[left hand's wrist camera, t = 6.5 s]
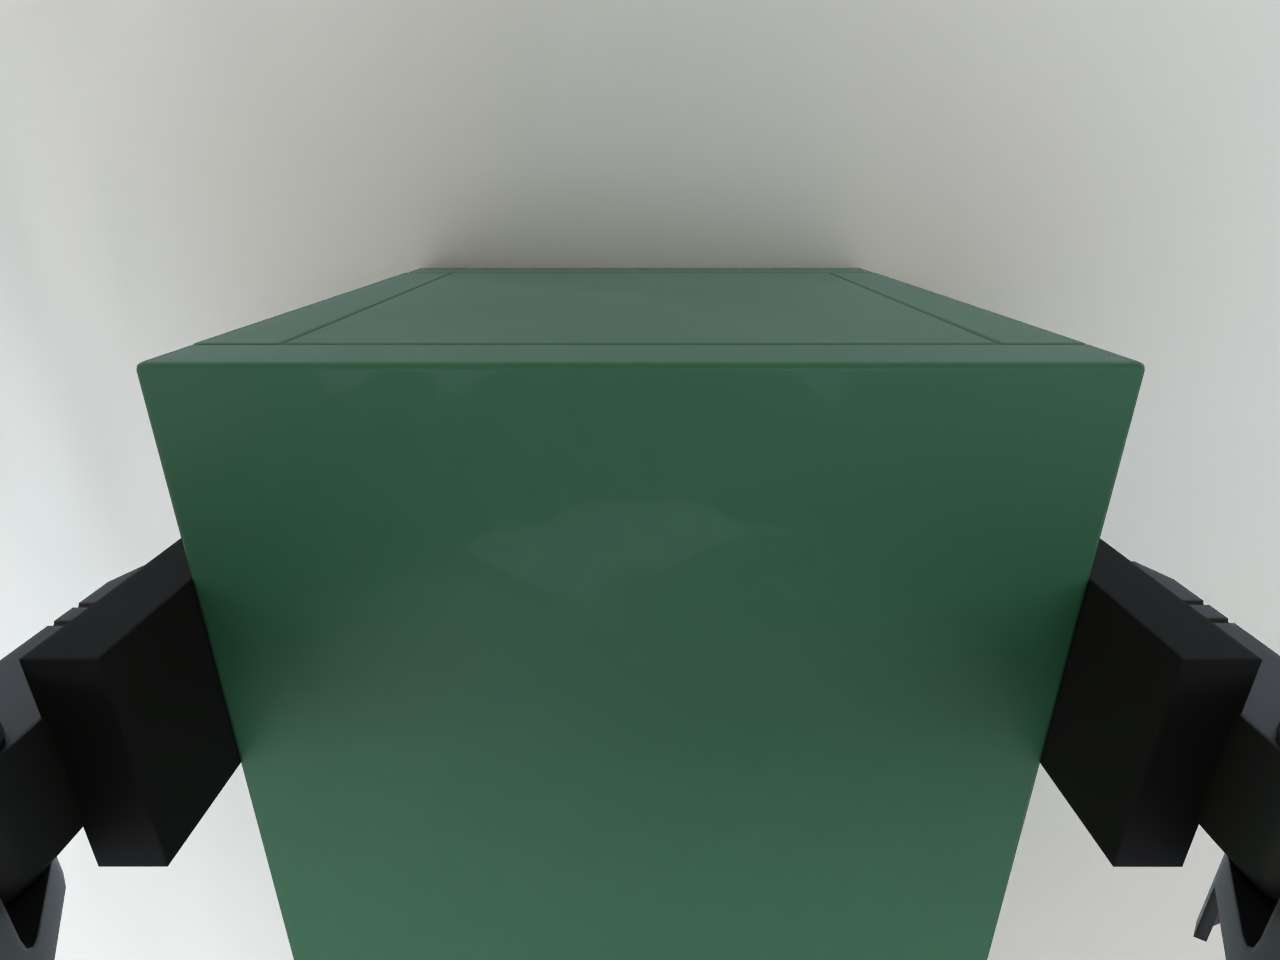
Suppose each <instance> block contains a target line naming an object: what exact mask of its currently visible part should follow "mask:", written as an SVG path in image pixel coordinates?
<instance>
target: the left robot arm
mask: <svg viewBox="0 0 1280 960" xmlns="http://www.w3.org/2000/svg"><path fill="white" fill-rule="evenodd" d="M240 763H241V759H240V755H239V752H238V748H237V744H236V740H235V737H234V733H233V729H232V725H231V722H230V718H229V714H228V710H227V707H226V703H225V699H224V695H223V692H222V688H221V684H220V680H219V677H218V673H217V669H216V666H215V662H214V658H213V654H212V651H211V647H210V643H209V639H208V636H207V632H206V628H205V624H204V621H203V617H202V613H201V609H200V606H199V602H198V598H197V594H196V591H195V587H194V583H193V579H192V576H191V572H190V568H189V564H188V561H187V557H186V553H185V549H184V546H183V542H182V538H181V539H179V540H178V541H177V542H175V543H174V544H173V545H171V546H170V547H169V548H167V549H166V550H165V551H163V552H162V553H161V554H159V555H158V556H157V557H155V558H154V559H153V560H151V561H150V562H149V563H147V564H146V565H144V566H142V567H140V568H138V569H135V570H133V571H131V572H129V573H127V574H125V575H122V576H120V577H118V578H116V579H114V580H111V581H109V582H107V583H106V584H105V585H103V586H102V587H101V588H99V589H98V590H96V591H95V592H94V593H92V594H91V595H90V596H88V597H87V598H85V599H84V600H83V601H81V602H80V603H79V607H78V608H72V609H70V610H69V611H68V612H66V613H65V614H63V615H62V616H61V617H59V618H58V619H57V620H55V621H54V626H47V627H46V628H44V629H43V630H41V631H40V632H39V633H37V634H36V635H35V636H33V637H32V638H30V639H29V640H28V641H26V642H25V643H24V644H22V645H21V646H19V647H18V648H17V649H15V650H14V651H13V652H11V653H10V654H8V655H7V656H6V657H4V658H3V659H2V660H0V960H54V959H55V952H56V946H57V940H58V933H59V927H60V921H61V914H62V908H63V902H64V895H65V889H66V885H65V880H64V875H63V871H62V868H61V866H60V864H59V861H58V859H57V855H58V854H59V853H60V852H61V851H62V850H63V849H64V848H65V846H66V845H67V844H68V843H69V842H70V841H71V840H72V838H73V837H74V836H75V835H76V834H77V833H78V832H79V831H80V829H81V828H82V827H84V830H85V832H86V835H87V837H88V840H89V843H90V845H91V848H92V850H93V853H94V855H95V858H96V861H97V863H98V866H168V865H169V864H170V862H171V861H172V859H173V858H174V857H175V855H176V854H177V852H178V851H179V849H180V848H181V847H182V845H183V844H184V842H185V841H186V840H187V838H188V837H189V835H190V834H191V832H192V831H193V830H194V828H195V827H196V825H197V824H198V822H199V821H200V820H201V818H202V817H203V815H204V814H205V813H206V811H207V810H208V808H209V807H210V805H211V804H212V803H213V801H214V800H215V798H216V797H217V796H218V794H219V793H220V791H221V790H222V788H223V787H224V786H225V784H226V783H227V781H228V780H229V778H230V777H231V776H232V774H233V773H234V771H235V770H236V769H237V767H238V766H239V764H240ZM1040 763H1041V765H1042V766H1043V767H1044V769H1045V770H1046V772H1047V773H1048V775H1049V776H1050V777H1051V779H1052V780H1053V782H1054V783H1055V784H1056V786H1057V787H1058V789H1059V790H1060V792H1061V793H1062V794H1063V796H1064V797H1065V799H1066V800H1067V802H1068V803H1069V804H1070V806H1071V807H1072V809H1073V810H1074V811H1075V813H1076V814H1077V816H1078V817H1079V819H1080V820H1081V821H1082V823H1083V824H1084V826H1085V827H1086V828H1087V830H1088V831H1089V833H1090V834H1091V836H1092V837H1093V838H1094V840H1095V841H1096V843H1097V844H1098V846H1099V847H1100V848H1101V850H1102V851H1103V853H1104V854H1105V855H1106V857H1107V858H1108V860H1109V861H1110V863H1111V864H1112V865H1113V867H1182V866H1183V863H1184V861H1185V858H1186V856H1187V853H1188V850H1189V848H1190V845H1191V843H1192V840H1193V837H1194V835H1195V832H1196V830H1197V827H1198V825H1199V824H1200V825H1201V827H1202V828H1203V829H1204V830H1205V831H1206V832H1207V833H1208V834H1209V836H1210V837H1211V838H1212V839H1213V840H1214V841H1215V842H1216V843H1217V845H1218V846H1219V847H1220V848H1221V849H1222V850H1223V851H1224V852H1225V854H1224V856H1223V859H1222V861H1221V864H1220V866H1219V868H1218V871H1217V873H1216V876H1215V878H1214V881H1213V883H1212V885H1211V888H1210V890H1209V893H1208V895H1207V897H1206V900H1205V902H1204V905H1203V907H1202V909H1201V912H1200V914H1199V917H1198V919H1197V922H1196V927H1195V932H1194V937H1196V938H1199V939H1201V940H1204V941H1207V939H1208V936H1209V934H1210V932H1211V929H1212V927H1213V926H1214V925H1216V924H1219V923H1220V924H1221V931H1222V937H1223V943H1224V949H1225V956H1226V960H1280V656H1279V655H1278V654H1276V653H1275V652H1274V651H1272V650H1271V649H1269V648H1268V647H1267V646H1265V645H1264V644H1263V643H1261V642H1260V641H1258V640H1257V639H1256V638H1254V637H1253V636H1251V635H1250V634H1249V633H1247V632H1246V631H1244V630H1243V629H1242V628H1240V627H1239V626H1238V625H1236V624H1235V623H1228V618H1226V617H1225V616H1224V615H1222V614H1221V613H1219V612H1218V611H1217V610H1215V609H1214V608H1213V607H1211V606H1210V605H1204V604H1203V600H1201V599H1200V598H1199V597H1197V596H1196V595H1195V594H1193V593H1192V592H1190V591H1189V590H1188V589H1186V588H1185V587H1183V586H1182V585H1181V584H1179V583H1178V582H1176V581H1175V580H1174V579H1171V578H1169V577H1167V576H1165V575H1163V574H1161V573H1158V572H1156V571H1154V570H1152V569H1150V568H1147V567H1145V566H1143V565H1141V564H1139V563H1136V562H1131V561H1130V560H1128V559H1127V558H1126V557H1124V556H1123V555H1121V554H1120V553H1119V552H1117V551H1116V550H1115V549H1113V548H1112V547H1111V546H1109V545H1108V544H1107V543H1105V542H1104V541H1103V540H1101V539H1099V543H1098V547H1097V550H1096V554H1095V558H1094V562H1093V565H1092V569H1091V573H1090V576H1089V580H1088V584H1087V588H1086V591H1085V595H1084V599H1083V603H1082V606H1081V610H1080V614H1079V618H1078V621H1077V625H1076V629H1075V633H1074V636H1073V640H1072V644H1071V648H1070V651H1069V655H1068V659H1067V663H1066V666H1065V670H1064V674H1063V677H1062V681H1061V685H1060V689H1059V692H1058V696H1057V700H1056V704H1055V707H1054V711H1053V715H1052V719H1051V722H1050V726H1049V730H1048V734H1047V737H1046V741H1045V745H1044V749H1043V752H1042V756H1041V760H1040Z"/></svg>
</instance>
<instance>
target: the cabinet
mask: <svg viewBox="0 0 1280 960" xmlns="http://www.w3.org/2000/svg"><path fill="white" fill-rule="evenodd" d="M1144 371H1145V369H1144V365H1143V364H1142V363H1140V362H1138V361H1135V360H1132V359H1129V358H1126V357H1123V356H1120V355H1117V354H1114V353H1111V352H1108V351H1105V350H1102V349H1099V348H1096V347H1093V346H1090V345H1086V344H1085V343H1082V342H1079V341H1076V340H1073V339H1071V338H1068V337H1065V336H1062V335H1059V334H1056V333H1053V332H1050V331H1047V330H1044V329H1041V328H1038V327H1035V326H1032V325H1029V324H1026V323H1023V322H1020V321H1017V320H1014V319H1011V318H1008V317H1005V316H1002V315H999V314H996V313H993V312H990V311H987V310H984V309H981V308H978V307H975V306H972V305H969V304H966V303H963V302H960V301H957V300H954V299H951V298H948V297H945V296H942V295H939V294H936V293H933V292H930V291H927V290H924V289H921V288H918V287H915V286H912V285H909V284H906V283H903V282H900V281H897V280H894V279H891V278H888V277H885V276H882V275H879V274H876V273H872V272H869V271H866V270H863V269H418V270H415V271H412V272H409V273H404V274H401V275H398V276H395V277H392V278H389V279H386V280H383V281H380V282H377V283H374V284H371V285H368V286H365V287H362V288H359V289H356V290H353V291H350V292H347V293H344V294H341V295H338V296H335V297H332V298H329V299H326V300H323V301H320V302H317V303H314V304H311V305H308V306H305V307H302V308H299V309H296V310H293V311H290V312H287V313H284V314H281V315H278V316H275V317H272V318H269V319H266V320H263V321H260V322H257V323H254V324H251V325H248V326H245V327H242V328H239V329H236V330H233V331H230V332H227V333H224V334H221V335H218V336H215V337H212V338H209V339H206V340H203V341H200V342H197V343H195V344H194V345H191V346H188V347H185V348H182V349H179V350H176V351H173V352H170V353H167V354H164V355H161V356H158V357H155V358H152V359H149V360H146V361H144V362H141V363H139V364H138V365H137V374H138V377H139V381H140V385H141V389H142V392H143V396H144V400H145V404H146V407H147V411H148V415H149V418H150V422H151V426H152V430H153V433H154V437H155V441H156V445H157V448H158V452H159V456H160V460H161V463H162V467H163V471H164V475H165V478H166V482H167V486H168V490H169V493H170V497H171V501H172V505H173V508H174V512H175V516H176V520H177V523H178V527H179V531H180V535H181V538H182V542H183V546H184V549H185V553H186V557H187V561H188V564H189V568H190V572H191V576H192V579H193V583H194V587H195V591H196V594H197V598H198V602H199V606H200V609H201V613H202V617H203V621H204V624H205V628H206V632H207V636H208V639H209V643H210V647H211V651H212V654H213V658H214V662H215V666H216V669H217V673H218V677H219V680H220V684H221V688H222V692H223V695H224V699H225V703H226V707H227V710H228V714H229V718H230V722H231V725H232V729H233V733H234V737H235V740H236V744H237V748H238V752H239V755H240V759H241V763H242V767H243V770H244V774H245V778H246V782H247V785H248V789H249V793H250V797H251V800H252V804H253V808H254V811H255V815H256V819H257V823H258V826H259V830H260V834H261V838H262V841H263V845H264V849H265V853H266V856H267V860H268V864H269V868H270V871H271V875H272V879H273V883H274V886H275V890H276V894H277V898H278V901H279V905H280V909H281V913H282V916H283V920H284V924H285V928H286V931H287V935H288V939H289V942H290V946H291V950H292V954H293V957H294V960H987V958H988V954H989V951H990V947H991V943H992V939H993V936H994V932H995V928H996V924H997V921H998V917H999V913H1000V909H1001V906H1002V902H1003V898H1004V894H1005V891H1006V887H1007V883H1008V879H1009V876H1010V872H1011V868H1012V865H1013V861H1014V857H1015V853H1016V850H1017V846H1018V842H1019V838H1020V835H1021V831H1022V827H1023V823H1024V820H1025V816H1026V812H1027V808H1028V805H1029V801H1030V797H1031V793H1032V790H1033V786H1034V782H1035V778H1036V775H1037V771H1038V767H1039V764H1040V760H1041V756H1042V752H1043V749H1044V745H1045V741H1046V737H1047V734H1048V730H1049V726H1050V722H1051V719H1052V715H1053V711H1054V707H1055V704H1056V700H1057V696H1058V692H1059V689H1060V685H1061V681H1062V677H1063V674H1064V670H1065V666H1066V663H1067V659H1068V655H1069V651H1070V648H1071V644H1072V640H1073V636H1074V633H1075V629H1076V625H1077V621H1078V618H1079V614H1080V610H1081V606H1082V603H1083V599H1084V595H1085V591H1086V588H1087V584H1088V580H1089V576H1090V573H1091V569H1092V565H1093V562H1094V558H1095V554H1096V550H1097V547H1098V543H1099V539H1100V535H1101V532H1102V528H1103V524H1104V520H1105V517H1106V513H1107V509H1108V505H1109V502H1110V498H1111V494H1112V490H1113V487H1114V483H1115V479H1116V475H1117V472H1118V468H1119V464H1120V461H1121V457H1122V453H1123V449H1124V446H1125V442H1126V438H1127V434H1128V431H1129V427H1130V423H1131V419H1132V416H1133V412H1134V408H1135V404H1136V401H1137V397H1138V393H1139V389H1140V386H1141V382H1142V378H1143V374H1144Z"/></svg>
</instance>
